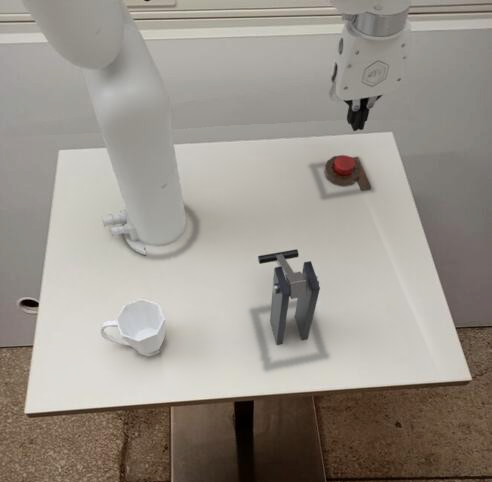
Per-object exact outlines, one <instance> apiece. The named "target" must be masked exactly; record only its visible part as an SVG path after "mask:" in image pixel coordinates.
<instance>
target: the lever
mask: <svg viewBox="0 0 492 482" xmlns="http://www.w3.org/2000/svg"><path fill="white" fill-rule="evenodd" d="M299 254H300V253H299V250H298V249H297V248H296V249H291V250H290V249H289V250H284V251H278V252H273V253H267V254H262V255H261V254H260V255H258V256H257V261H258V264H259V265H260V264H267V263H273V262H276V264H277V267H280V266H282V269H283V272H284V276H285V279H286V282H287V286H288V289H289V292H290V296H289V299H291V300H294V299H298V298H300V297H305V296H307V285H306V279H305V278H304V276H303V275H302V272H301V271H296V272H294V270H293V268H292V267H291V265H290V264H289V263H288V261H287V260H290V259H295V258H299V256H300V255H299Z"/></svg>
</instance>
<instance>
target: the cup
mask: <svg viewBox="0 0 492 482" xmlns="http://www.w3.org/2000/svg"><path fill="white" fill-rule="evenodd" d="M100 326H101V327H100V334H101V337H102V338H103V339H105V340H106V341H109V342H111V343H115V344H119V345H123V346H128V347H132V348H133V349H135V350H136V351H138V354H140V355H143V356H145V357H148V358H150V357H152V356H155V355H157V354H160V352H161V346H162V344H163V342H164V341H165V336H166V318H165V314H164V313H163V310H162V307H161V305H160V303H158V302H155V301H153V300H149V299H146V298H144V297H141V298H139V299H136V300H133V301H130V302H127V303H125V304H123V306H122V308H121V309H120V311H119V313H118V315H117V317H116V318H115V319H114V320H106V321H104V322H103V323H101V325H100ZM108 327H112V328H113V327H114V328H118V330H119V333H120V336H121V337H122V338H120V337H116V336H113V335H111V334H108V333H107V332H106V331H105V329H106V328H108Z"/></svg>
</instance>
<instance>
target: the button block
mask: <svg viewBox="0 0 492 482" xmlns="http://www.w3.org/2000/svg"><path fill="white" fill-rule="evenodd" d="M343 155H344V154H341V155H334V156H333V157H331V158H329V159H327V161H326V164H325V167H324V171H323V172H324V175H325V178H326V180H327V181H328V182H330V183H331V184H333V185H335V186H339V187H349V186H353V185H354V184H355V183H357V185H358V187H359V188H358V189H359V190H360V191H361V192H364V191H365V192H366V191H371V189H372V185H371V182H370V181H369V178H368V176H367V174H366V172H365V169H364V167H363V165H362V163H361V161H360V158H359V156H355V157H352V156H350V157H351V158H352V159H353V160H354V162H355V164H354V168H353V172H352V174H351V175H349V176H345V177H343V176H339V175H337V174H336V173H335V172H334V169H333V168H334V163H335V160H336V158H337V157H339V156H343Z"/></svg>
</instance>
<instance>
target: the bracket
mask: <svg viewBox="0 0 492 482" xmlns="http://www.w3.org/2000/svg"><path fill="white" fill-rule="evenodd" d="M273 269H274V270H273V281H272V293H271V305H270V316H269V317H270V318H269V322H270V327H271V330H272V334H273V338H274V341H275V345H276V346H278V345H283V343H284V336H285V330H286V325H287V324H286V323H287V318H288V317H287V316H288V308H289V304H290V303H289V302H290V292H289V289H288V286H287V282H286V279H285V276H284V272H283V269H282V266H280V267H279V266H276V267H274V268H273ZM301 271H302V272H301V273H302V275H303V276H304V278H305V279H306V285H307V296H305V297H300V298H297V300H296V306H295V312H294V319H295V323H296V326H297V330H298V333H299V335H300V340H301V341H305V340H308V339H309V336H310V332H311V327H312V323H313V319H314V315H315V311H316V306H317V303H318V298H319V295H320V289H321V286H320V280H319V277H318V275H316V271H315V269H314V266H313V262H312V261H311V260H309V261H304V262H303V266H302V270H301Z"/></svg>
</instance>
